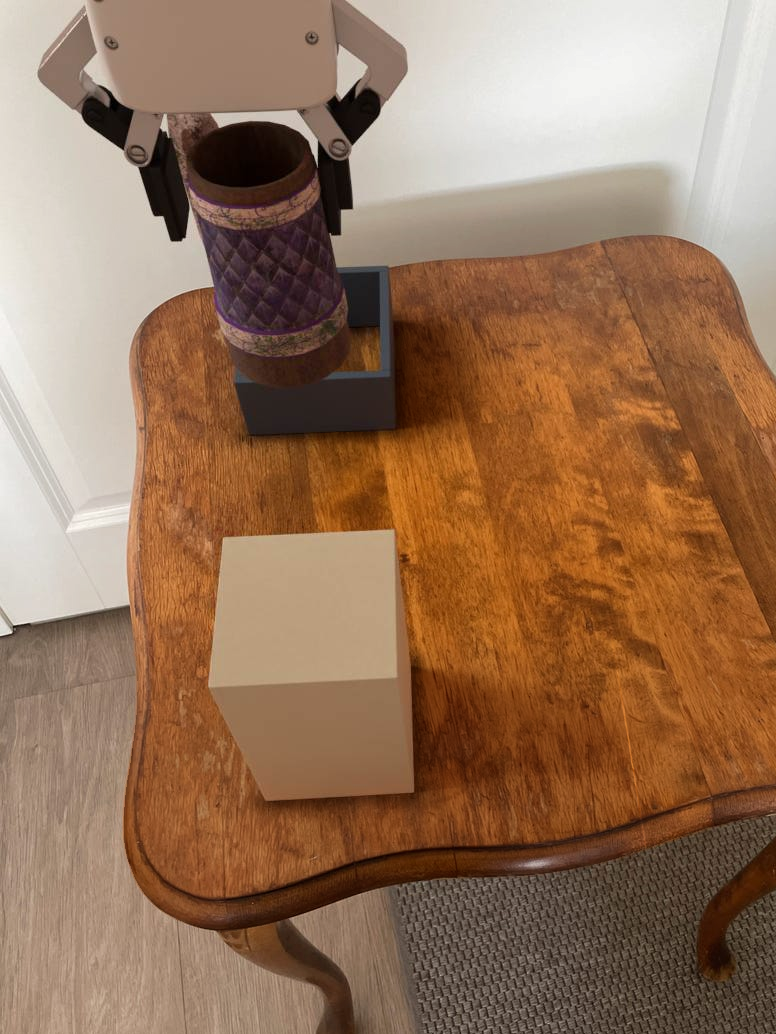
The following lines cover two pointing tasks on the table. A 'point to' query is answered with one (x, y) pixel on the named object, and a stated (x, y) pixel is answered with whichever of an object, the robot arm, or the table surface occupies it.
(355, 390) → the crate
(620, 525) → the table surface
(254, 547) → the block
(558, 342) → the table surface
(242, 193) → the mug
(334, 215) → the robot arm
